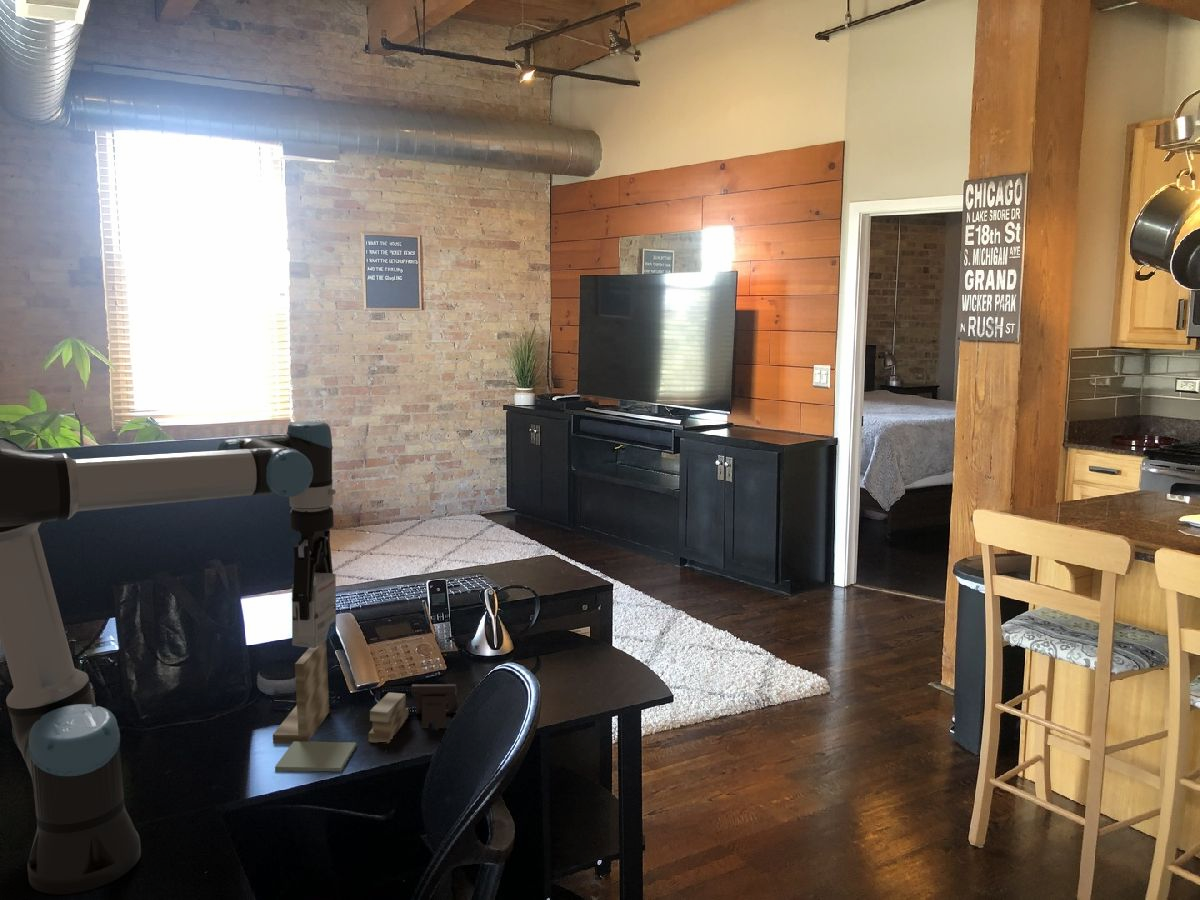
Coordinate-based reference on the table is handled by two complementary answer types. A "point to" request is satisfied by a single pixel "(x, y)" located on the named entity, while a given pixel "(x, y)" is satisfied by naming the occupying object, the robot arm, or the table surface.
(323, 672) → the wooden bookend
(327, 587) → the ink box
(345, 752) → the sage mat
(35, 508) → the robot arm
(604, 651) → the table surface
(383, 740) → the offcut stack
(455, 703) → the portable electronic device stand
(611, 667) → the table surface
